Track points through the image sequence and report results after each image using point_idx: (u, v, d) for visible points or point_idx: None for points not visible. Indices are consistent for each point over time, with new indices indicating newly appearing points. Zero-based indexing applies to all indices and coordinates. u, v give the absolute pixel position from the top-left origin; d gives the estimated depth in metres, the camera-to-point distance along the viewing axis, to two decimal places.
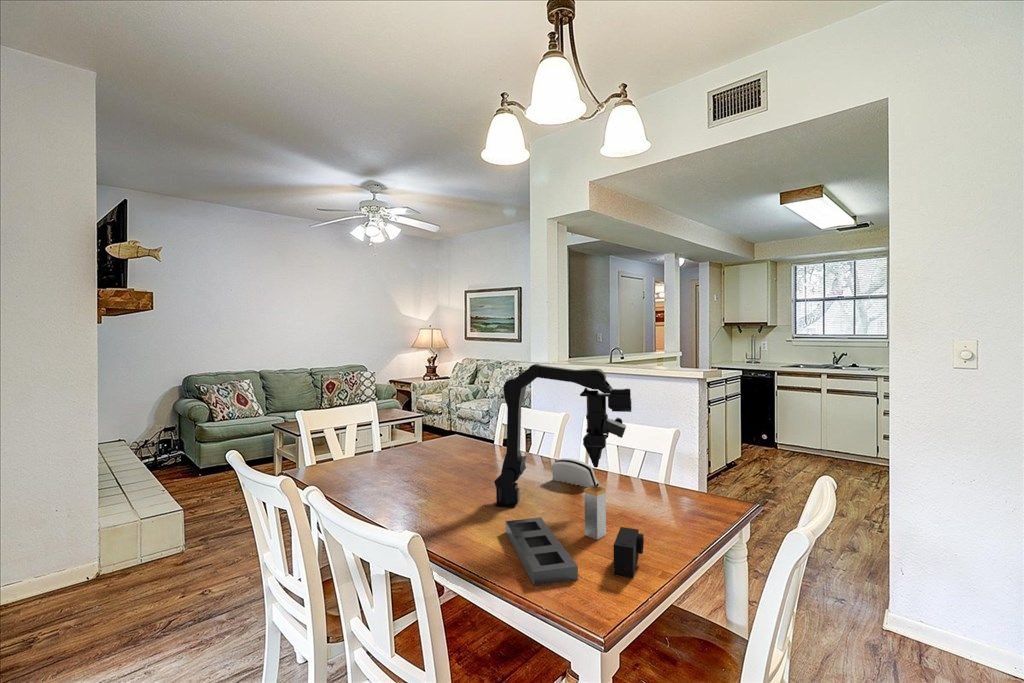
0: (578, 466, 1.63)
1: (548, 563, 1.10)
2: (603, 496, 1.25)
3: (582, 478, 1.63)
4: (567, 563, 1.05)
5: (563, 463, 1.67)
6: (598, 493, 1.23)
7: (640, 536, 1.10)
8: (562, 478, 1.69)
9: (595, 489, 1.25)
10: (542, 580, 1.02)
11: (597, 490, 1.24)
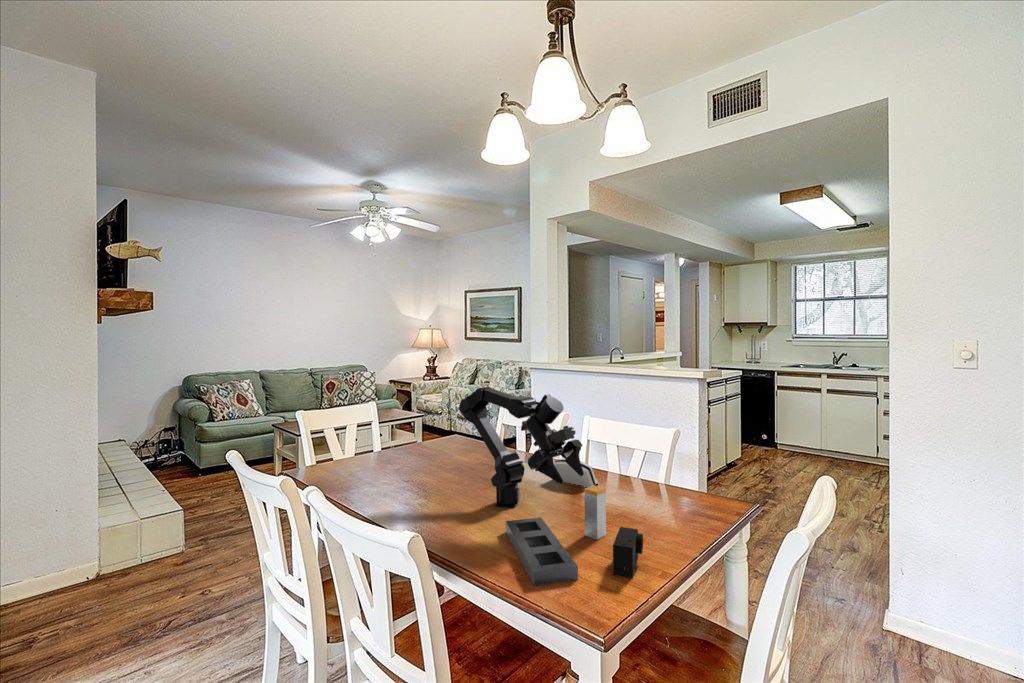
0: None
1: (548, 563, 1.10)
2: (603, 496, 1.25)
3: (582, 478, 1.63)
4: (567, 563, 1.05)
5: (563, 463, 1.67)
6: (598, 493, 1.23)
7: (639, 536, 1.10)
8: (562, 478, 1.69)
9: (595, 489, 1.25)
10: (542, 580, 1.02)
11: (597, 490, 1.24)
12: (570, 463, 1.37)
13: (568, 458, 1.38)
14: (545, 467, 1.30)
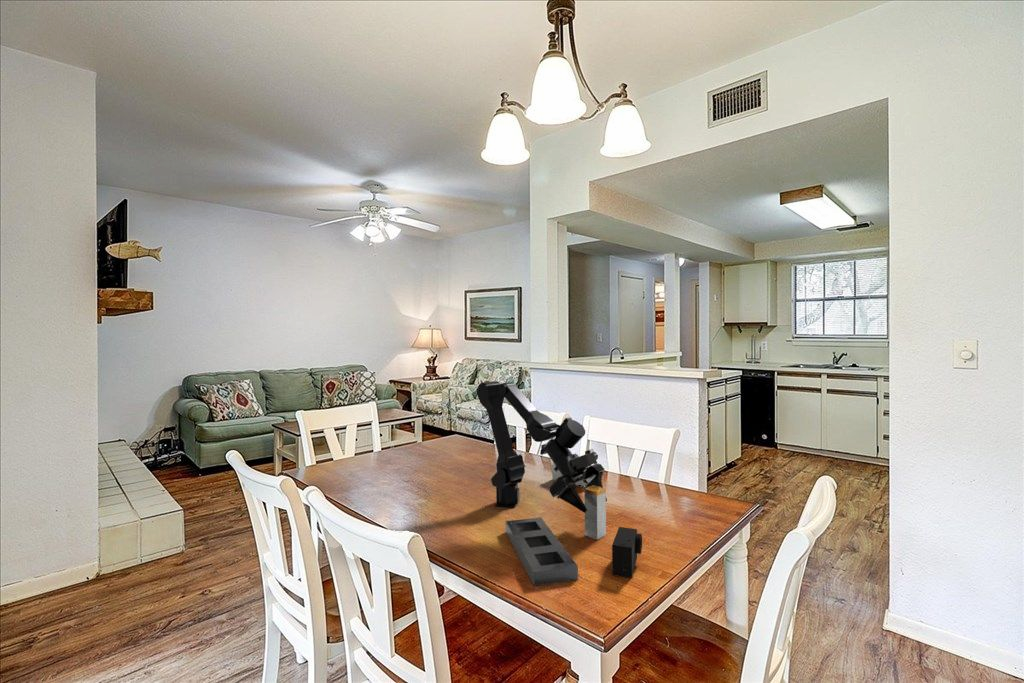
0: None
1: (548, 563, 1.10)
2: (603, 496, 1.25)
3: None
4: (567, 563, 1.05)
5: None
6: (598, 493, 1.23)
7: (638, 536, 1.10)
8: None
9: (595, 489, 1.25)
10: (542, 580, 1.02)
11: (597, 490, 1.24)
12: None
13: (590, 483, 1.33)
14: (567, 494, 1.25)
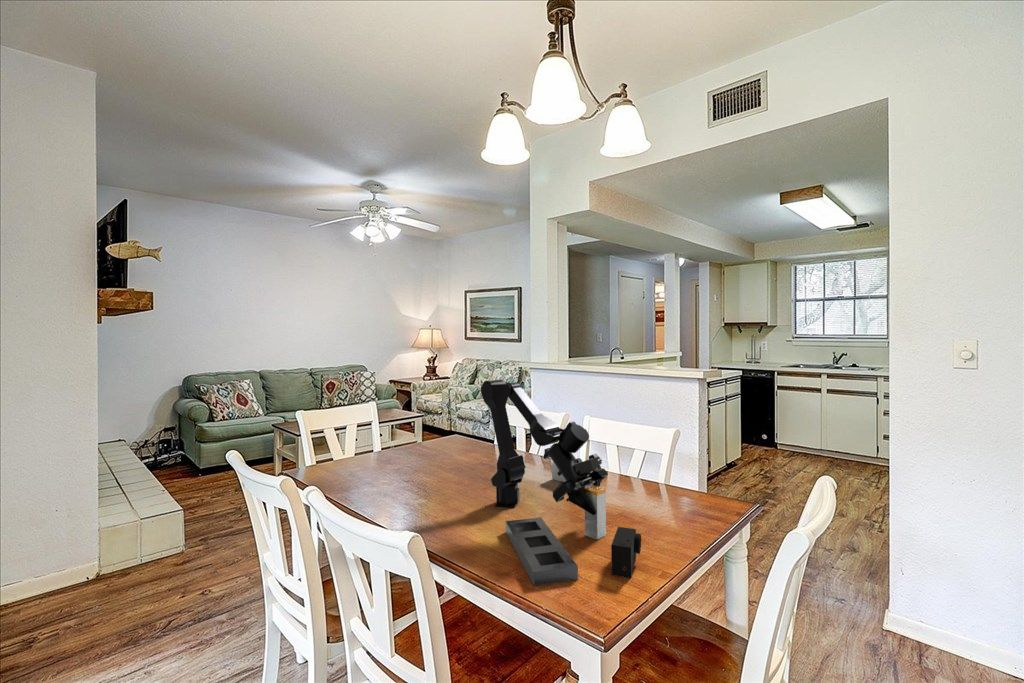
0: None
1: (548, 563, 1.10)
2: (603, 496, 1.25)
3: None
4: (567, 563, 1.05)
5: None
6: (598, 493, 1.23)
7: (638, 536, 1.10)
8: (561, 478, 1.70)
9: (595, 489, 1.25)
10: (542, 580, 1.02)
11: (597, 490, 1.24)
12: None
13: None
14: (576, 497, 1.25)
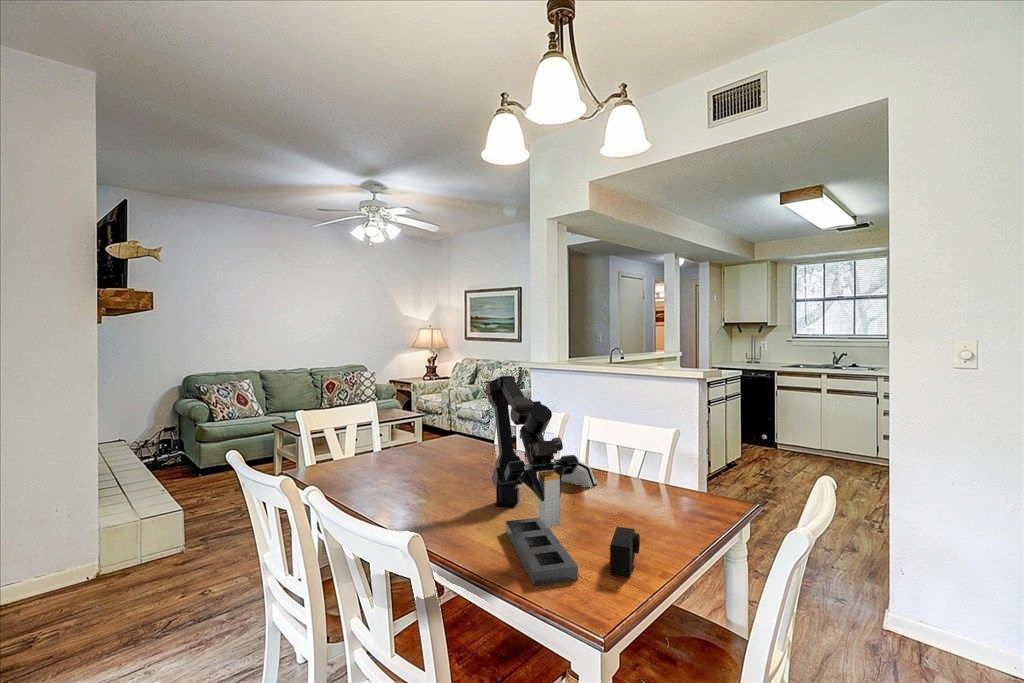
0: None
1: (548, 563, 1.10)
2: (556, 483, 1.15)
3: (580, 478, 1.64)
4: (567, 563, 1.05)
5: None
6: (547, 478, 1.14)
7: (636, 536, 1.10)
8: (561, 478, 1.70)
9: (548, 474, 1.16)
10: (542, 580, 1.02)
11: (547, 475, 1.15)
12: None
13: None
14: (530, 480, 1.19)
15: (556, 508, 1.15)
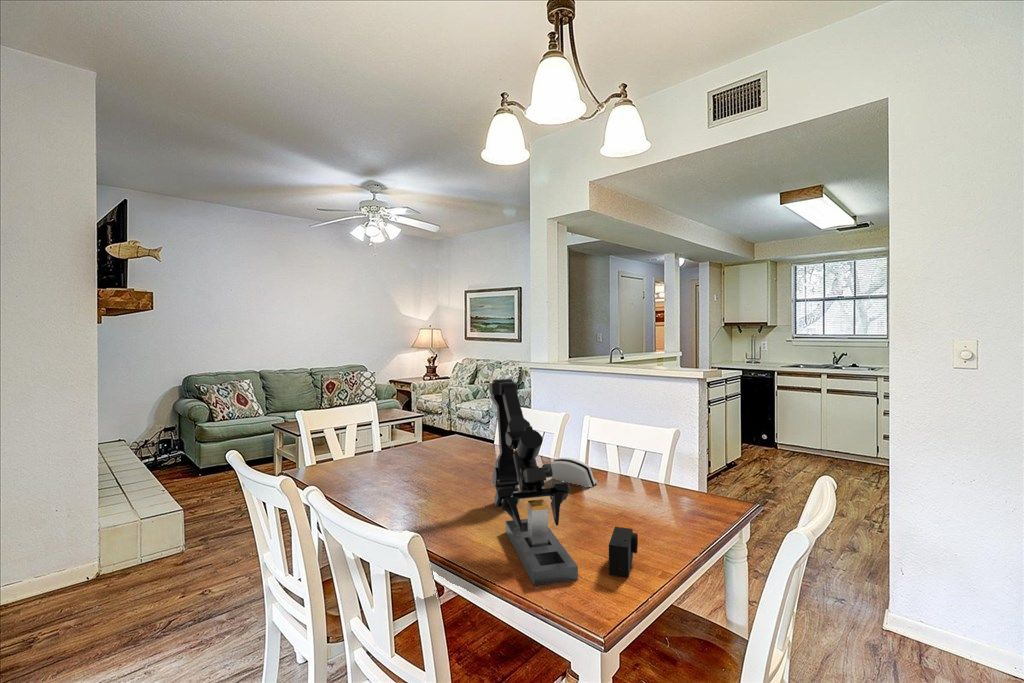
0: (576, 465, 1.64)
1: (548, 563, 1.10)
2: (544, 513, 1.14)
3: (580, 477, 1.64)
4: (567, 563, 1.05)
5: (561, 462, 1.68)
6: (534, 508, 1.14)
7: (634, 535, 1.10)
8: (561, 477, 1.70)
9: (536, 503, 1.15)
10: (542, 580, 1.02)
11: (535, 505, 1.14)
12: (552, 508, 1.20)
13: (552, 502, 1.21)
14: (510, 507, 1.18)
15: (544, 538, 1.14)
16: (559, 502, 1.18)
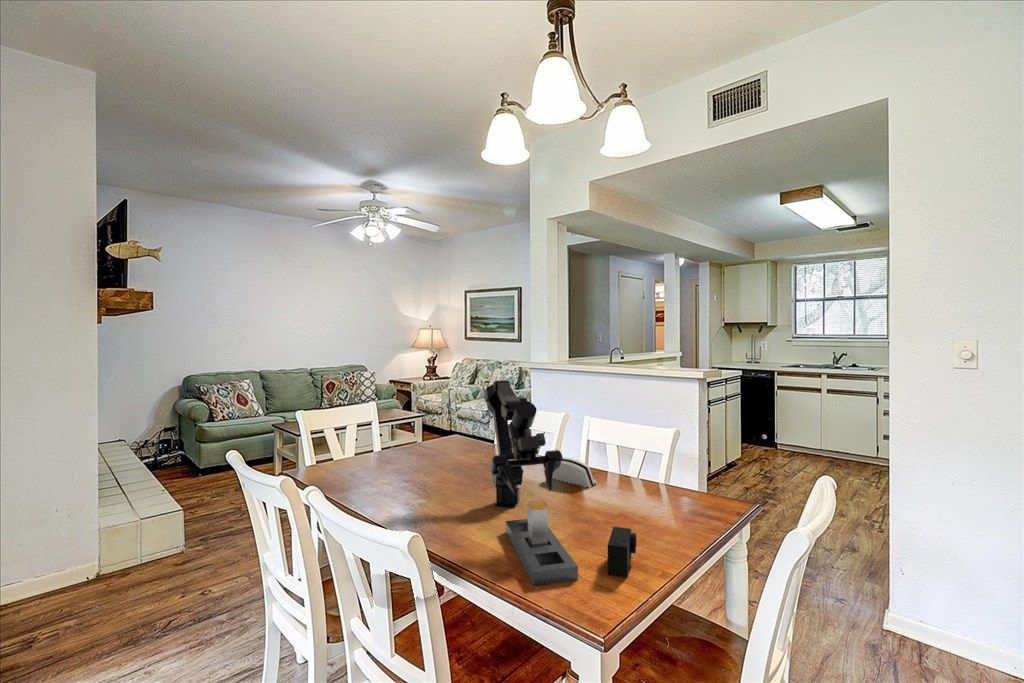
0: (575, 465, 1.64)
1: (548, 563, 1.10)
2: (544, 513, 1.14)
3: (579, 477, 1.64)
4: (567, 563, 1.05)
5: (561, 462, 1.68)
6: (534, 508, 1.14)
7: (633, 535, 1.10)
8: (560, 477, 1.70)
9: (536, 503, 1.15)
10: (542, 580, 1.02)
11: (535, 505, 1.14)
12: (545, 475, 1.26)
13: (545, 469, 1.27)
14: (506, 474, 1.24)
15: (544, 538, 1.14)
16: (552, 469, 1.24)
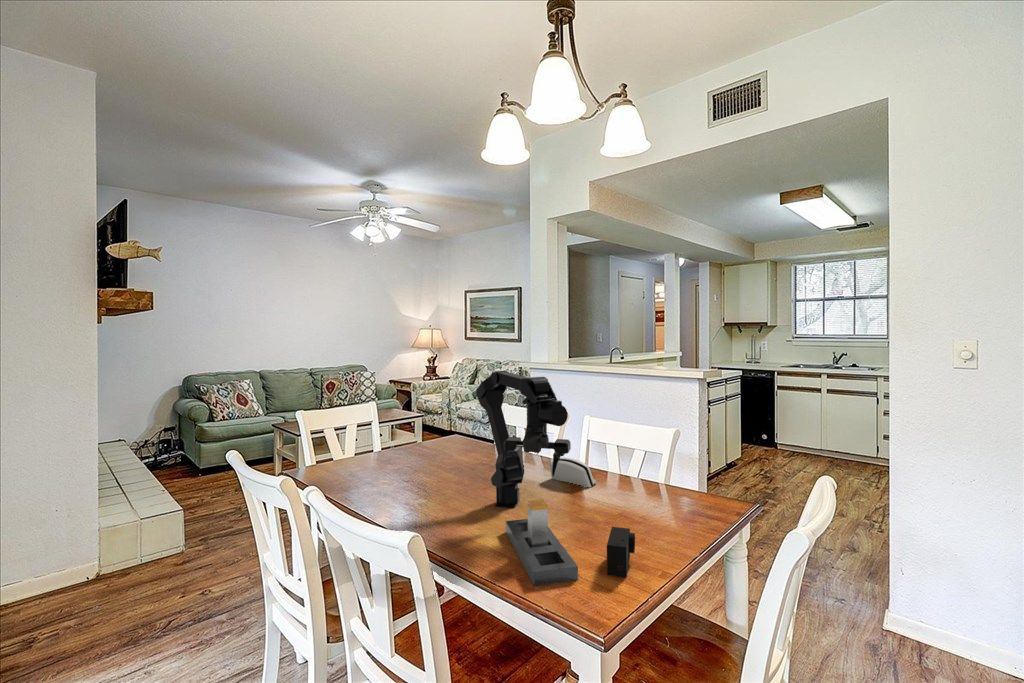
0: (575, 465, 1.64)
1: (548, 563, 1.10)
2: (544, 513, 1.14)
3: (579, 477, 1.64)
4: (567, 563, 1.05)
5: (560, 462, 1.68)
6: (534, 508, 1.14)
7: (632, 535, 1.10)
8: (560, 477, 1.71)
9: (536, 503, 1.15)
10: (542, 580, 1.02)
11: (535, 505, 1.14)
12: None
13: None
14: None
15: (544, 538, 1.14)
16: (557, 460, 1.34)
